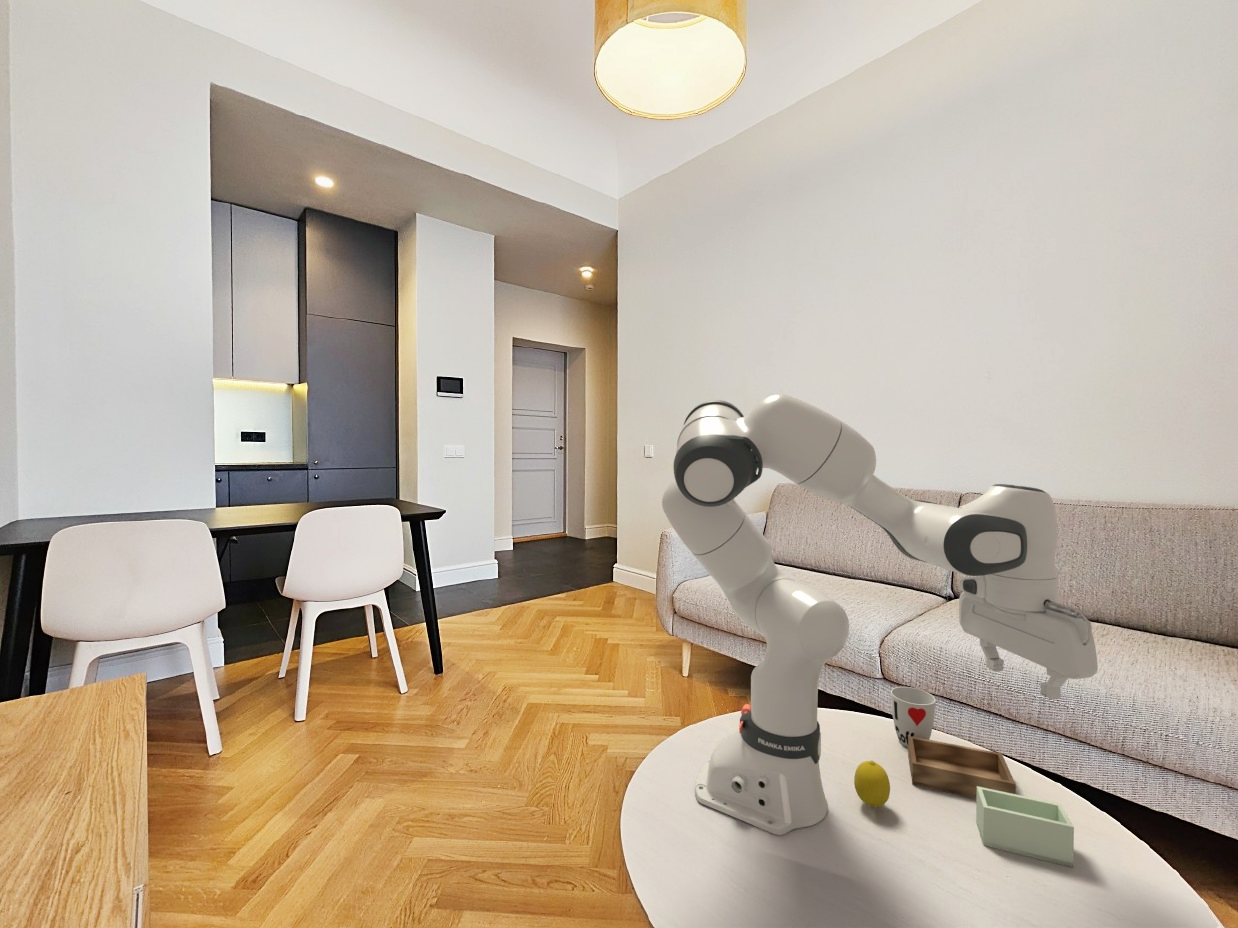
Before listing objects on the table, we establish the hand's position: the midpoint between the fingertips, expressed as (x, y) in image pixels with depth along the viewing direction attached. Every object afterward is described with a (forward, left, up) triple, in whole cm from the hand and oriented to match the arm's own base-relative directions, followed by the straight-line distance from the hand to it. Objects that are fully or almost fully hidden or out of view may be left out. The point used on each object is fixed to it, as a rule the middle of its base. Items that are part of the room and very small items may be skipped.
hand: (1021, 682), depth 80 cm
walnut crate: (-6, +16, -26) cm, 31 cm away
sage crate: (+1, +1, -26) cm, 26 cm away
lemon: (-20, +1, -26) cm, 33 cm away
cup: (-12, +26, -26) cm, 39 cm away
